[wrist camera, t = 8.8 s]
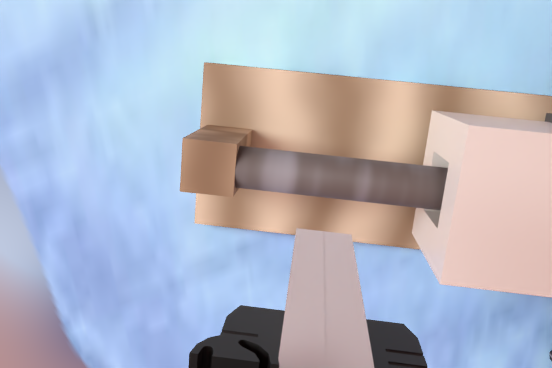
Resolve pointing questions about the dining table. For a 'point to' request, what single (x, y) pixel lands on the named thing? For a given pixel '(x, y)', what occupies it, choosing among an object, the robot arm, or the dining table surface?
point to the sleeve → (490, 204)
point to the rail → (325, 150)
